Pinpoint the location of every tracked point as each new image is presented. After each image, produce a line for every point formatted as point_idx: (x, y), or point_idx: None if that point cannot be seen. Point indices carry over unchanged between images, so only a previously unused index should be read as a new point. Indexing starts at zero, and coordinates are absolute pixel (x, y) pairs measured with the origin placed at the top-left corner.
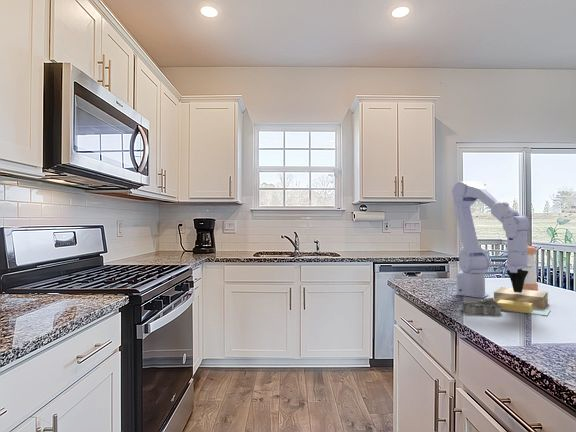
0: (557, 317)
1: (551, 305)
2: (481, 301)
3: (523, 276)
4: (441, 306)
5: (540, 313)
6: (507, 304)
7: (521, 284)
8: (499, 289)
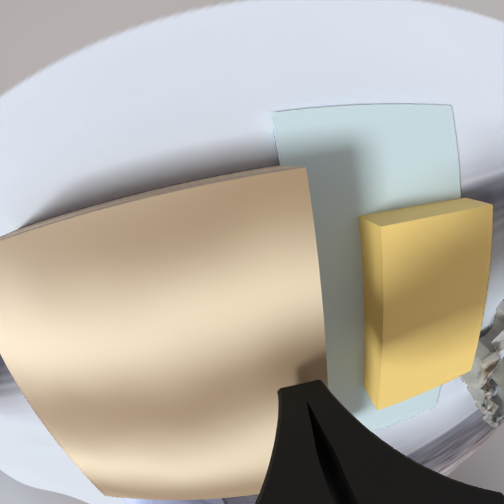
0: (431, 57)
1: (50, 186)
2: (490, 399)
3: (471, 490)
4: (466, 447)
5: (440, 144)
6: (479, 321)
7: (366, 437)
8: (191, 496)
